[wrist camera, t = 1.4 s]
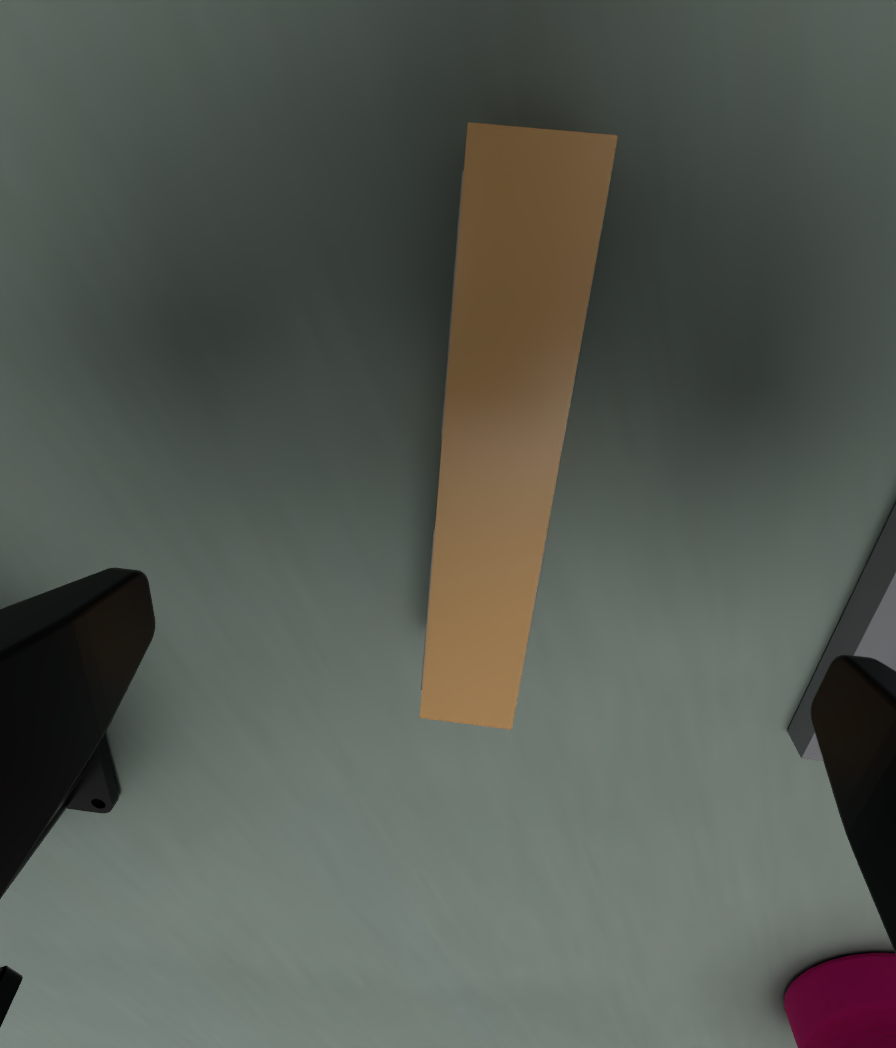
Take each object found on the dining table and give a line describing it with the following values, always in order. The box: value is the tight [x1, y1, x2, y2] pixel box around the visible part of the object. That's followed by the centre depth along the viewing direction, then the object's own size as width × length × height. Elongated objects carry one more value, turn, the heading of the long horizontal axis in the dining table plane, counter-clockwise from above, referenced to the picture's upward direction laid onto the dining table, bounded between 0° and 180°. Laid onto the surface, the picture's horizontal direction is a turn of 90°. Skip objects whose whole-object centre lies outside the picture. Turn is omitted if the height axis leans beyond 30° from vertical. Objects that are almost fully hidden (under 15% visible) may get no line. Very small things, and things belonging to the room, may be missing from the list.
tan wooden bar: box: [420, 122, 618, 730], centre depth 13 cm, size 12×2×4 cm, turn 175°
